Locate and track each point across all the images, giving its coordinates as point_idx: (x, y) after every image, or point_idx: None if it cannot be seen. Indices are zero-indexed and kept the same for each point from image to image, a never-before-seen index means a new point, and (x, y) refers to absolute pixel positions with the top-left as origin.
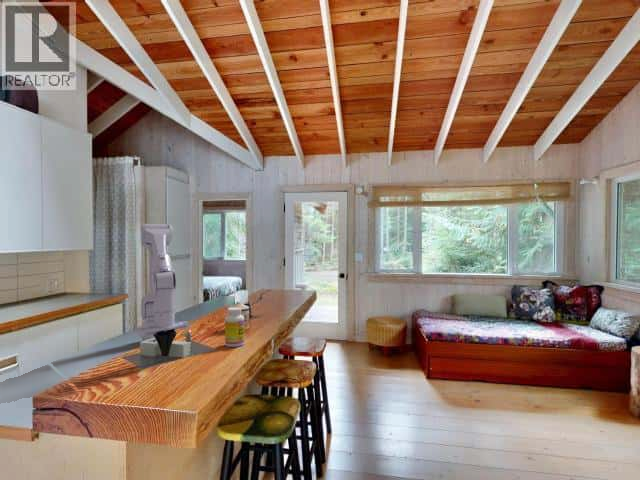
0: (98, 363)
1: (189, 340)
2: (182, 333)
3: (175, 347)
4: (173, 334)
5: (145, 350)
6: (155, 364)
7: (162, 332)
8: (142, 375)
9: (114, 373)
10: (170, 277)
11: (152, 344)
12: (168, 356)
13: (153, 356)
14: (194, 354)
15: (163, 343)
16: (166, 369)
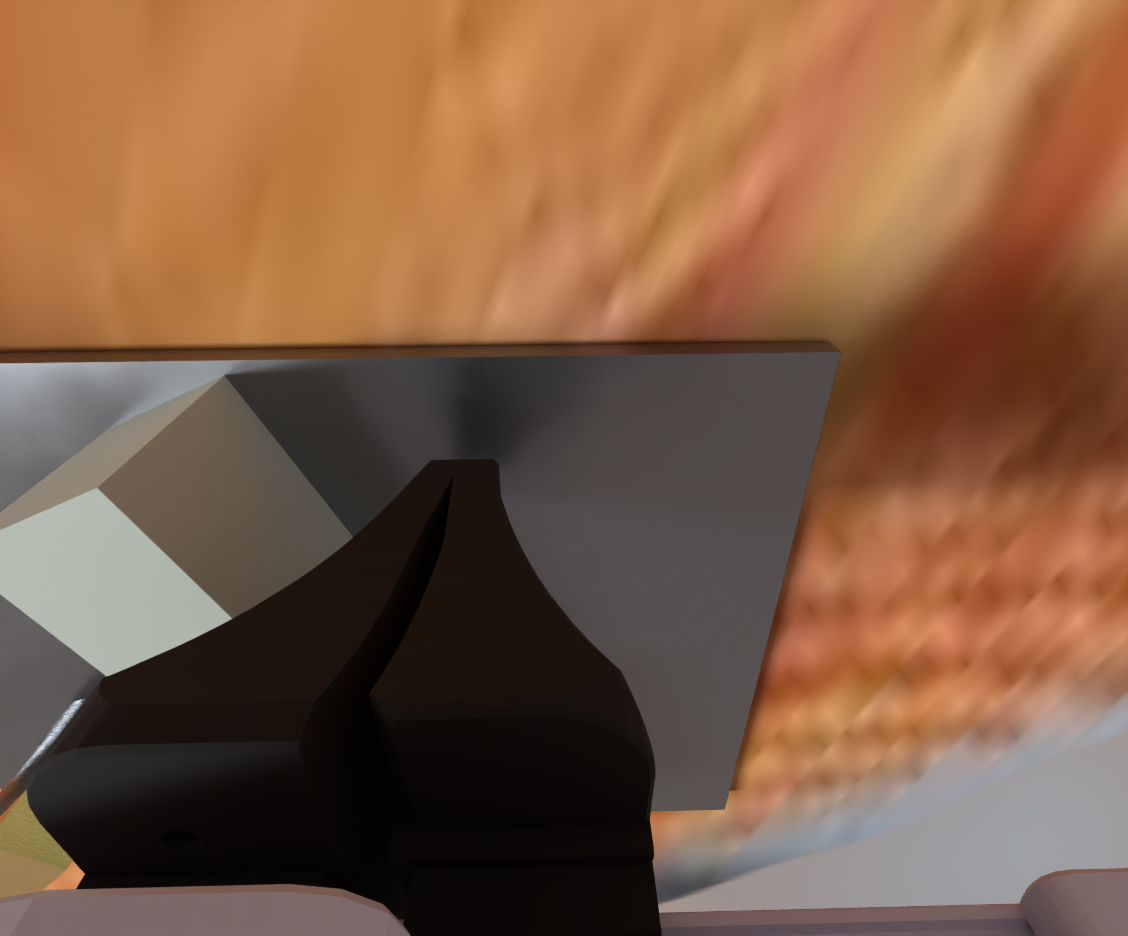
0: (884, 798)
1: (28, 771)
2: (27, 876)
3: (266, 582)
4: (174, 692)
5: None
6: (645, 388)
7: (480, 900)
8: (961, 138)
9: (1029, 499)
10: None
11: None
12: None
13: None
14: (41, 392)
15: (514, 577)
16: (598, 107)
